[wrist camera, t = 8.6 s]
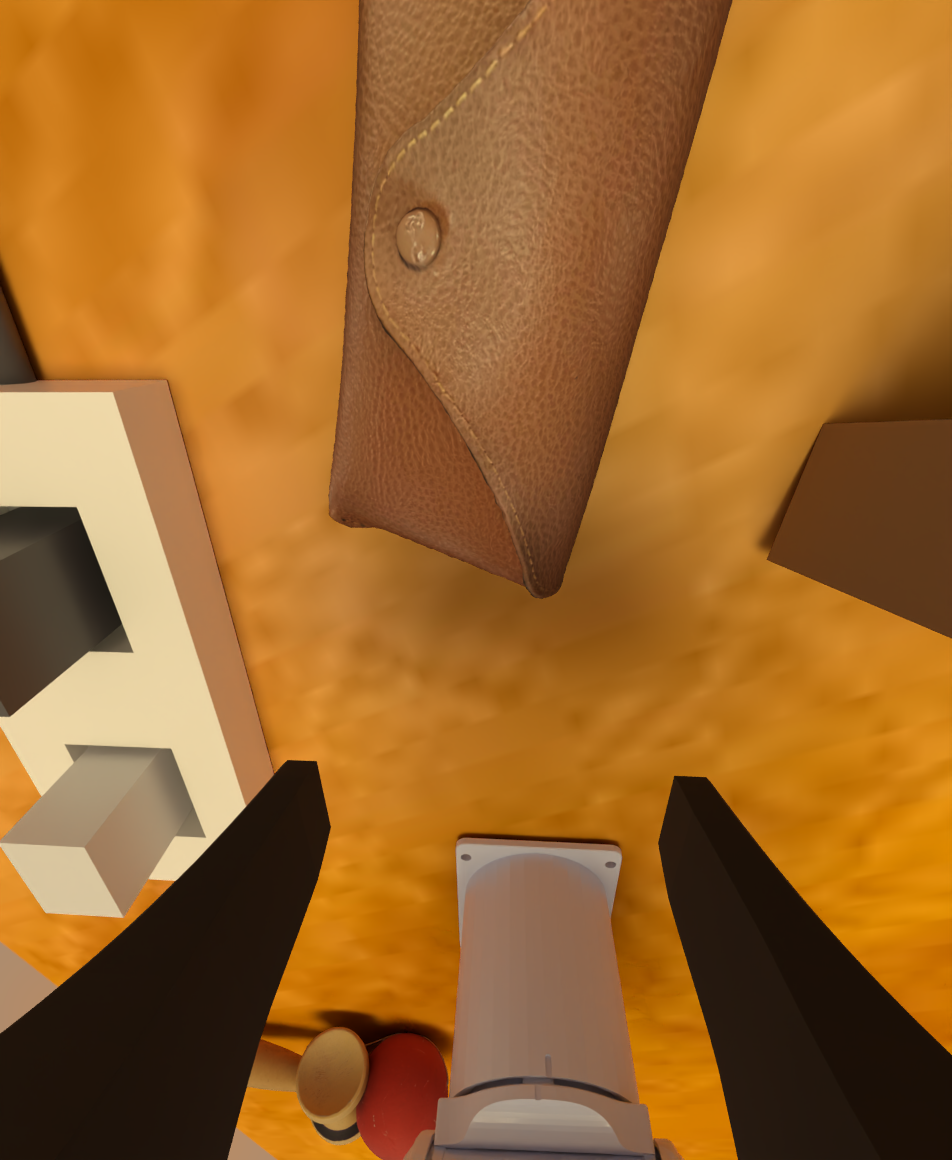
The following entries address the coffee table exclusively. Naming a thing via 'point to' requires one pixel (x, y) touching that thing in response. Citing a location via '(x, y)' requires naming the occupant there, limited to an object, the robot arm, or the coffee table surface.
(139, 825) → the beige plug
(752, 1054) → the robot arm
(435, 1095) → the kendama
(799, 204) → the coffee table surface
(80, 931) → the coffee table surface
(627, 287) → the sunglasses case
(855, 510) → the photo frame
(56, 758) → the power strip
